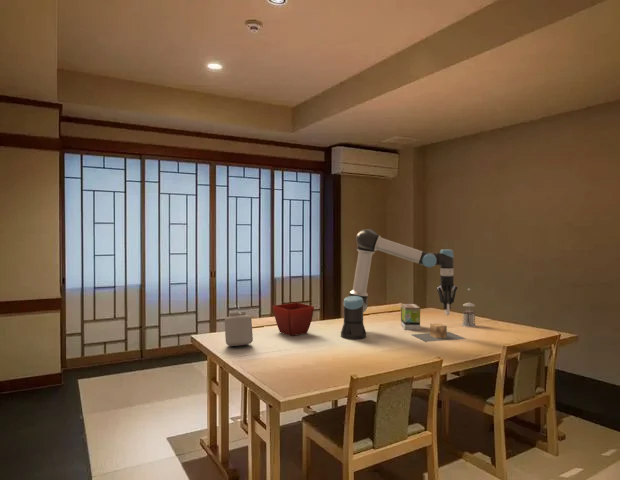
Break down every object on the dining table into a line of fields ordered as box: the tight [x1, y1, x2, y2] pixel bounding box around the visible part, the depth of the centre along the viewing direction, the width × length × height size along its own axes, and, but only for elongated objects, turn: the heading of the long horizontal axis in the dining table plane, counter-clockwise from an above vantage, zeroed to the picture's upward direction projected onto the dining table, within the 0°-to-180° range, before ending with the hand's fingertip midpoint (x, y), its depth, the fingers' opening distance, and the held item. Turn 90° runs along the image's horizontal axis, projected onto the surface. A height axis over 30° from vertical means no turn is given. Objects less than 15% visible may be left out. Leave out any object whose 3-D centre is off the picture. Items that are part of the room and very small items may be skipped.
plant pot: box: [272, 302, 315, 337], centre depth 279 cm, size 19×19×17 cm
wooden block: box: [429, 322, 448, 338], centre depth 268 cm, size 7×7×7 cm
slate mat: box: [411, 331, 467, 343], centre depth 268 cm, size 26×18×1 cm
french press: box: [460, 288, 477, 328], centre depth 299 cm, size 10×12×25 cm
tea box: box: [400, 303, 421, 331], centre depth 294 cm, size 15×10×15 cm
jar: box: [224, 305, 254, 347], centre depth 249 cm, size 19×15×25 cm
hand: (447, 314), depth 269 cm, fingers closed
